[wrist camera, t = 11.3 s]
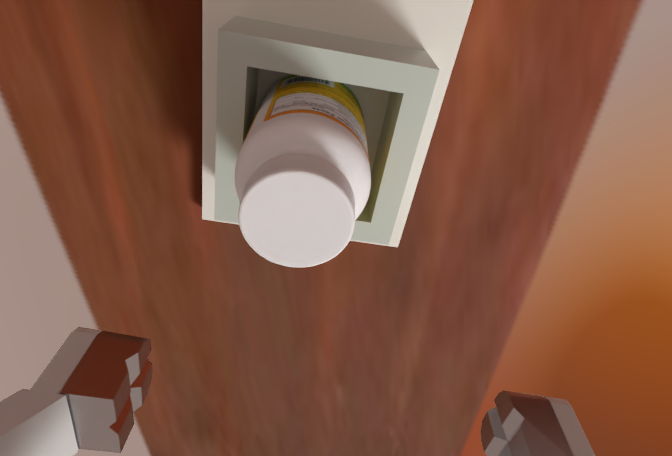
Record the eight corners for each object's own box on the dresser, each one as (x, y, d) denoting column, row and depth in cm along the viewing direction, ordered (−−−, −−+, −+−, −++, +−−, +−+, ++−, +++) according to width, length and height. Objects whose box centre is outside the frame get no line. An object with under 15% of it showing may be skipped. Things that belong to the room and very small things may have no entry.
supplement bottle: (309, 186, 25) (295, 306, 17) (238, 116, 23) (183, 217, 15) (384, 126, 23) (408, 230, 15) (314, 43, 21) (298, 113, 13)
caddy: (396, 238, 28) (404, 284, 25) (206, 210, 27) (185, 254, 24) (468, -5, 21) (496, 10, 17) (208, -56, 20) (177, -53, 16)
